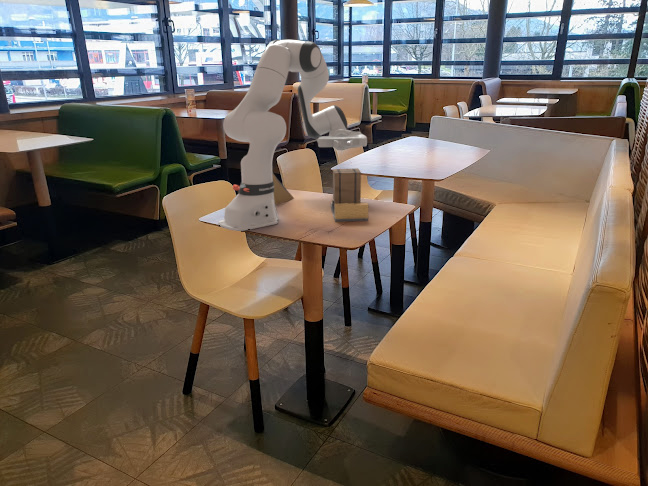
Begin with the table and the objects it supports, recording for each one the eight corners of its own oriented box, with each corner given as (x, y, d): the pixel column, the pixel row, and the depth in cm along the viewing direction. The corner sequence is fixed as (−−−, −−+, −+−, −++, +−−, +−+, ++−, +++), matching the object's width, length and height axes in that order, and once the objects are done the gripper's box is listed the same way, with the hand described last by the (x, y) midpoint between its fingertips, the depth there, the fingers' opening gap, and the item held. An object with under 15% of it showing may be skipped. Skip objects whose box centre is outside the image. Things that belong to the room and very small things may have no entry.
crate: (333, 198, 197) (332, 169, 193) (357, 198, 198) (358, 168, 194) (334, 203, 189) (334, 173, 186) (360, 203, 190) (360, 172, 186)
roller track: (330, 205, 199) (330, 191, 197) (359, 205, 200) (360, 190, 198) (335, 221, 178) (335, 205, 176) (367, 220, 179) (368, 204, 177)
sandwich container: (295, 198, 212) (294, 163, 207) (272, 206, 200) (270, 169, 195) (279, 195, 217) (278, 161, 212) (256, 203, 205) (254, 167, 200)
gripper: (316, 132, 208) (317, 136, 195) (364, 131, 209) (369, 135, 196) (316, 147, 210) (318, 152, 197) (364, 146, 211) (368, 151, 198)
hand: (344, 144), depth 196 cm, fingers open, 3 cm apart
